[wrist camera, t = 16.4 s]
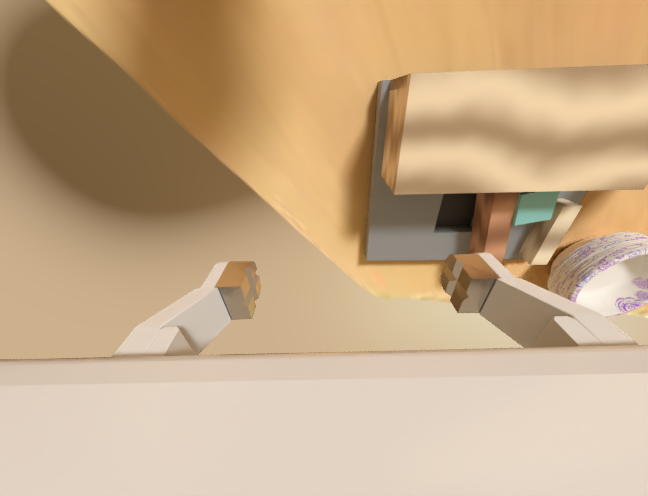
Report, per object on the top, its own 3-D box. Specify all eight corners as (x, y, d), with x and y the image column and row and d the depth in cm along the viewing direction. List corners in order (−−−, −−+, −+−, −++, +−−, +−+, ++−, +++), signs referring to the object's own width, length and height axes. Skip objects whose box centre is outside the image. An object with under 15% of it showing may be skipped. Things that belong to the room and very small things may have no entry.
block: (499, 184, 33) (521, 195, 29) (534, 177, 33) (561, 187, 29) (494, 212, 35) (514, 225, 32) (526, 206, 35) (550, 219, 31)
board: (378, 81, 29) (382, 80, 27) (635, 72, 28) (659, 69, 26) (364, 253, 43) (366, 260, 41) (535, 250, 42) (546, 258, 40)
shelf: (390, 80, 27) (411, 73, 20) (631, 71, 26) (737, 60, 19) (381, 175, 33) (394, 194, 26) (577, 170, 32) (643, 189, 25)
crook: (479, 174, 32) (496, 183, 29) (541, 162, 31) (567, 169, 28) (467, 263, 41) (479, 278, 37) (516, 256, 40) (533, 270, 36)
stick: (546, 198, 34) (563, 206, 32) (563, 198, 34) (582, 206, 32) (517, 254, 40) (530, 264, 37) (532, 254, 39) (546, 264, 37)
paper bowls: (593, 291, 47) (637, 322, 40) (519, 287, 47) (550, 318, 40) (654, 224, 39) (721, 249, 32) (563, 220, 39) (612, 245, 32)
